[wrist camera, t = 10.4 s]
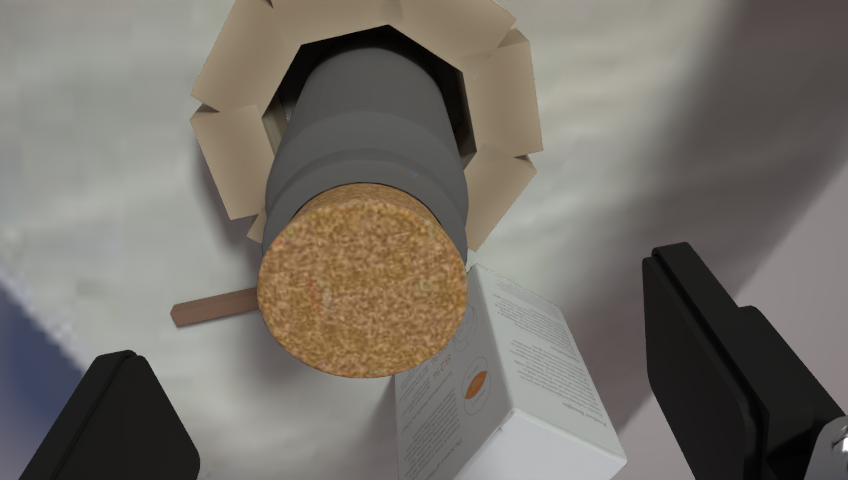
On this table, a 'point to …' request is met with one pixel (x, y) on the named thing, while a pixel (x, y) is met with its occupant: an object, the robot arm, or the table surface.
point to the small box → (504, 397)
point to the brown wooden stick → (215, 306)
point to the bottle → (366, 216)
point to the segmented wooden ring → (346, 13)
